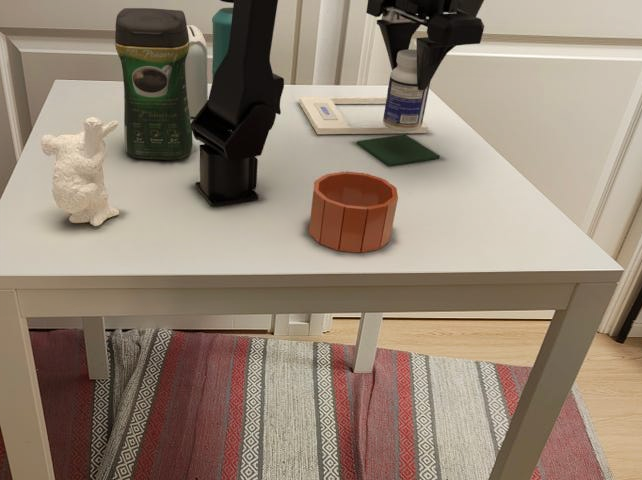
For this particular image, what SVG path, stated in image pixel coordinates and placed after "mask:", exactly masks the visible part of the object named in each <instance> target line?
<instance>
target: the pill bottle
mask: <svg viewBox="0 0 642 480" xmlns="http://www.w3.org/2000/svg"><path fill="white" fill-rule="evenodd" d="M396 62H397V64H398V65H397V67H396V68H394V69H393V70H392V69H391V72H390V76H389V81H388V88H387V93H386V97H387V99H386V104H384V105H385V106H384V112H383V118H382V122H383V126H386V127H388V128H390V129H393V130H396V131H403V132H410V131H415V130H418V129H419V128H420V127H421V126H422V122H424V117H425V112H426V107H427V100H428V96H429V92H430V86H431V82H430V83H429V85H428V86H427V88H426V89H425V90H421V91H420V90H418V85H417V49H413V48H411V49H410V48H409V50H401V51H399V52H398V54H397V60H396Z"/></svg>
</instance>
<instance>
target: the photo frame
mask: <svg viewBox="0 0 642 480" xmlns="http://www.w3.org/2000/svg"><path fill="white" fill-rule="evenodd" d="M386 99H387V96H312V97H311V96H306V97H305V96H303V97H301V96H300V97H299V101H298V104H299V105H300V107H301V109H302V110H303V112H304V113H305V115H306V117H307V119H308V121H309V122H310V124H311V126H312V127H313V129H314V131H315V133H316V135H353V134H354V135H358V134H359V135H366V134H367V135H368V134H369V135H370V134H373V135H374V134H375V135H376V134H379V135H380V134H381V135H382V134H427V133H428V130H429V129H428V128H429V127H428V125H427V124H426V123H425V122H424V121H423V122H422V126H421V127H420V128H419V129H418V130H415V131H410V132H403V131H396V130H393V129H390V128H388V127H386V126H385V125H375V126H374V125H369V126H368V125H365V126H363V125H362V126H359V125H357V126H354V125H353V126H351V125H350V124H349V122H348V121H347V119H346V118H345V117H344V116H343V114H342V112H341V111H340V110H339V108H338V107H337V106H336V105H363V104H365V105H369V104H370V105H372V104H374V105H375V104H377V105H378V104H379V105H381V104H382V105H386Z"/></svg>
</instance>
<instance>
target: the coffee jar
mask: <svg viewBox="0 0 642 480" xmlns="http://www.w3.org/2000/svg"><path fill="white" fill-rule="evenodd" d="M187 23H188V22H187V18H186V14H185V12H184V11H183V10H180V9H166V8H165V9H164V8H154V7H153V8H152V7H150V8H149V7H138V8H137V7H124V8H122V10H120V11H119V12H118V14H117V15H116V19H115V34H114V36H115V38H114V46H115V50H116V53H117V55H118V58H119V60H120V64H121V71H122V77H123V78H122V79H123V103H124V104H123V105H124V106H123V107H124V108H123V109H124V110H123V111H124V112H123V113H124V115H123V116H124V117H123V122H124V123H123V125H124V126H123V133H124V137H123V138H124V148H125V152H126V153H127V154H128V155H130V156H131V157H133V158H136V159H147V160H148V159H149V160H179V159H182V158H184V157H186V156H188V155H189V154H190V153H191V152H192V149H193V144H194V143H193V133H192V130H191V127H190V124H191V122H192V120H191V117H190V114H189V107H188V99H187V91H186V77H185V60H186V57H187V54H188V51H189V35H188V29H187V26H188V24H187Z"/></svg>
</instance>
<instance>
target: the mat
mask: <svg viewBox="0 0 642 480" xmlns="http://www.w3.org/2000/svg"><path fill="white" fill-rule="evenodd" d="M356 145H358V146H359V147H361V148H362V149H363V150H365V151H366V152H367V153H369V154H371V155H372V156H374V157H375V158H376V159H378V160H379V161H380V162H382V163H383V164H385V165H386V166H388V167H392V166H393V167H394V166H400V165H406V164H414V163H419V162H425V161H431V160H439V159H441V156H440V155H439V154H438V153H436V152H434V151H433V150H431V149H429V148H428V147H426V146H425V145H423V144H422V143H420V142H418V141H417V140H415V139H413V138H412V137H410V136H408V135H407V134H399V135H393V136H392V135H391V136H386V137H385V136H383V137H378V138H377V137H376V138H369V139H363V140H357V141H356Z"/></svg>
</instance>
